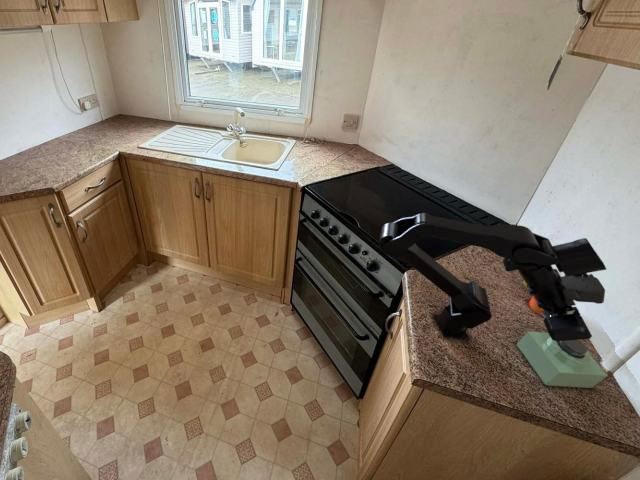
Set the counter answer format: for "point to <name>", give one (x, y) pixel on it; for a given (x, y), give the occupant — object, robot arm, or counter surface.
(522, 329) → the counter surface
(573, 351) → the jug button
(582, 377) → the green flat block
